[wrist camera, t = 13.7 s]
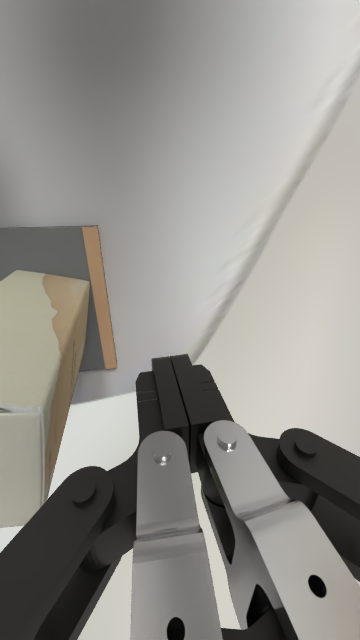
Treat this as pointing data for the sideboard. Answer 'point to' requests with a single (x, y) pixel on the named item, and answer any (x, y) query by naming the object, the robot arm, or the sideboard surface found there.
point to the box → (36, 382)
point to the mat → (68, 261)
